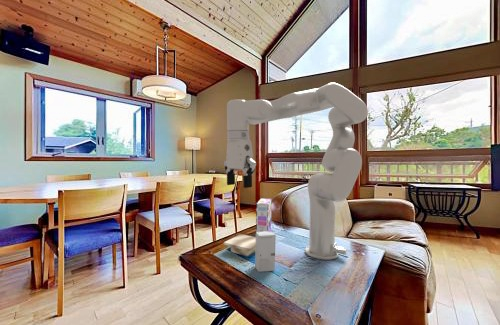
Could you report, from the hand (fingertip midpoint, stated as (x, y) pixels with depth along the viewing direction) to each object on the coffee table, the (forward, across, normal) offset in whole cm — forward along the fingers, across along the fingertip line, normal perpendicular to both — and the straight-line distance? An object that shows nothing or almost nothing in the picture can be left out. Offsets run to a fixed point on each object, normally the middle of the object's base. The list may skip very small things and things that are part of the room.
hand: (239, 186), depth 84 cm
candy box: (+28, +19, -28) cm, 44 cm away
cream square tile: (+28, +9, -9) cm, 30 cm away
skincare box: (+28, -8, -5) cm, 30 cm away
